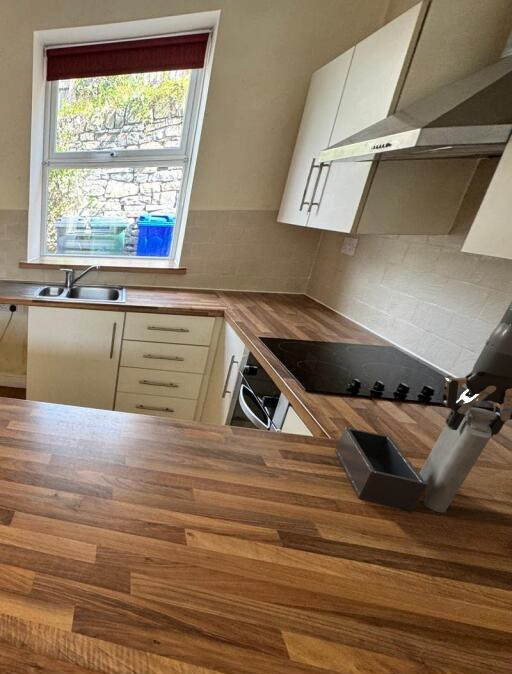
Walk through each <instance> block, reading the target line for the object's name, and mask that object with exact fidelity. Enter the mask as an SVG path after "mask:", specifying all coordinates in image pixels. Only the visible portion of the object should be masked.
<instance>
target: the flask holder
mask: <svg viewBox="0 0 512 674" xmlns="http://www.w3.org/2000/svg"><path fill="white" fill-rule="evenodd" d="M334 453H335V454H336V456H337V458H338V460H339V463H340V465H341V466H342V469H343V470H344V472H345V474H346V476H347V478H348V481H349V482H350V484H351V486H352V488H353V491H354V493H355V494H356V496H357V499H359V500H363V501H366V502H371V503H375V504H379V505H383V506H385V507H386V506H387V507H391V508H394V509H398V510H403V511H406V512H410V513H412V512H413V511H414V509H415V507H416V506H417V505H418V502H419V500H421V497H422V495H423V493H425V488H426V486H427V483H426V482H425V481H424V480H423V478H422V477H421V476H420V474H419V473H420V472H418V470H417V469H416V468H415V466H414V465H413V464H412V463H411V461H410V460H409V459H408V458H407V456H406V455H405V453H404V452H403V451H402V450H401V449H400V447H399V445H397V444H396V442H395V441H394V439H393V438H392V437H391V436H390V435H385V434H381V433H375V432H371V431H366V430H360V429H356V428H351V427H347V426H344V428H343V430H342V432H341V436H340V438H339V440H338V443H337V445H336V447H335V449H334Z"/></svg>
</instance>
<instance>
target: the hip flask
mask: <svg viewBox="0 0 512 674" xmlns="http://www.w3.org/2000/svg"><path fill="white" fill-rule="evenodd" d="M464 414H465V417H464V419H463V420H462V422H461V424H460V426H459V427H458V429H457V430H451V429H450V428H449V427H448V426H447V424H446V423H445V425H444V427H443V429H442V431H441V433H440V435H439V436H438V438H437V440H436V442H435V444H434V445H433V448H432V449H431V451H430V453H429V455H428V457H427V459H426V460H425V462H424V464H423V466H422V468H421V469H420V471H419V472H418V473H419V474H420V476H421V477H422V478H423V480H424V481H425V482H426V483H427V486H426V488H425V490H424V493H425V498H424V501H423V505H424V507H426V508H427V509H429V510H431V511H434V512H438V513H440V514H441V513H445V512H446V511H447V509H448V508H449V507H450V505H451V503H452V502H453V500H454V498H455V497H456V495H457V494H458V492H459V490H460V488H462V485H463V484H464V482H465V480H466V479H467V477H468V475H469V473H470V472H471V471H472V469H473V468H474V466H475V464H476V463H477V460H479V457H480V456H481V454H482V452H483V451H484V449H485V447H487V444H488V443H489V441H490V439H491V438H492V437H491V435H492V432H491V428H490V426H489V424H490V423H491V422H492V420H491V419H495V418H496V416H497V414H495V413H494V411H491V410H489V409H485V408H481V407H475V406H473V407H471V408H470V409H469V410H468V411H467V412H466V413H464Z"/></svg>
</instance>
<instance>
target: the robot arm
mask: <svg viewBox="0 0 512 674" xmlns="http://www.w3.org/2000/svg"><path fill="white" fill-rule="evenodd" d="M442 384H443V385H442V393H441V403H442V404H443V405H444V406H445V407H447V408H448V409H450V412H449V413H448V416H447V417H446V419H445V425H446V424H447V426H448V427H449V428H450V429H451V430H457V429H458V427H459V426H460V424H461V422H462V420H463V419H464V417H465V414H464V413H466V412H467V411H468V410H469V409H470V408H472V407H475V406H477V405H479V404H480V403H481V402H492V404H493V413H495V414H497V416H496V418H495V419H491V420H492V422H491V423H490V424H489V426H490V428H491V432H492V435H491V438H492V437H493V436H496V435H498V434H499V433H500V431H501V430H502V428H503V426H504V425H505V424H506V422H507V421H510V420H512V300H511V301H510V303H509V305H508V307H507V308H506V310H505V312H504V314H503V316H502V318H501V319H500V321H499V322H498V324H497V325H496V327H495V328H494V330H493V331H492V332H491V334H490V335H489V337H488V339H486V341H485V345H484V346H483V348H482V350H481V352H480V354H479V356H478V358H477V360H476V361H475V363H474V365H473V367H472V370H471V371H470V373H468V374H466V375H465V376H464V377H452V376H450V375H447V376H444V377H443V381H442ZM463 385H465V386H466V390H464V392H463V393H461V395H460V396H459V398H457V397H458V390H461V389H462V387H463Z"/></svg>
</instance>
